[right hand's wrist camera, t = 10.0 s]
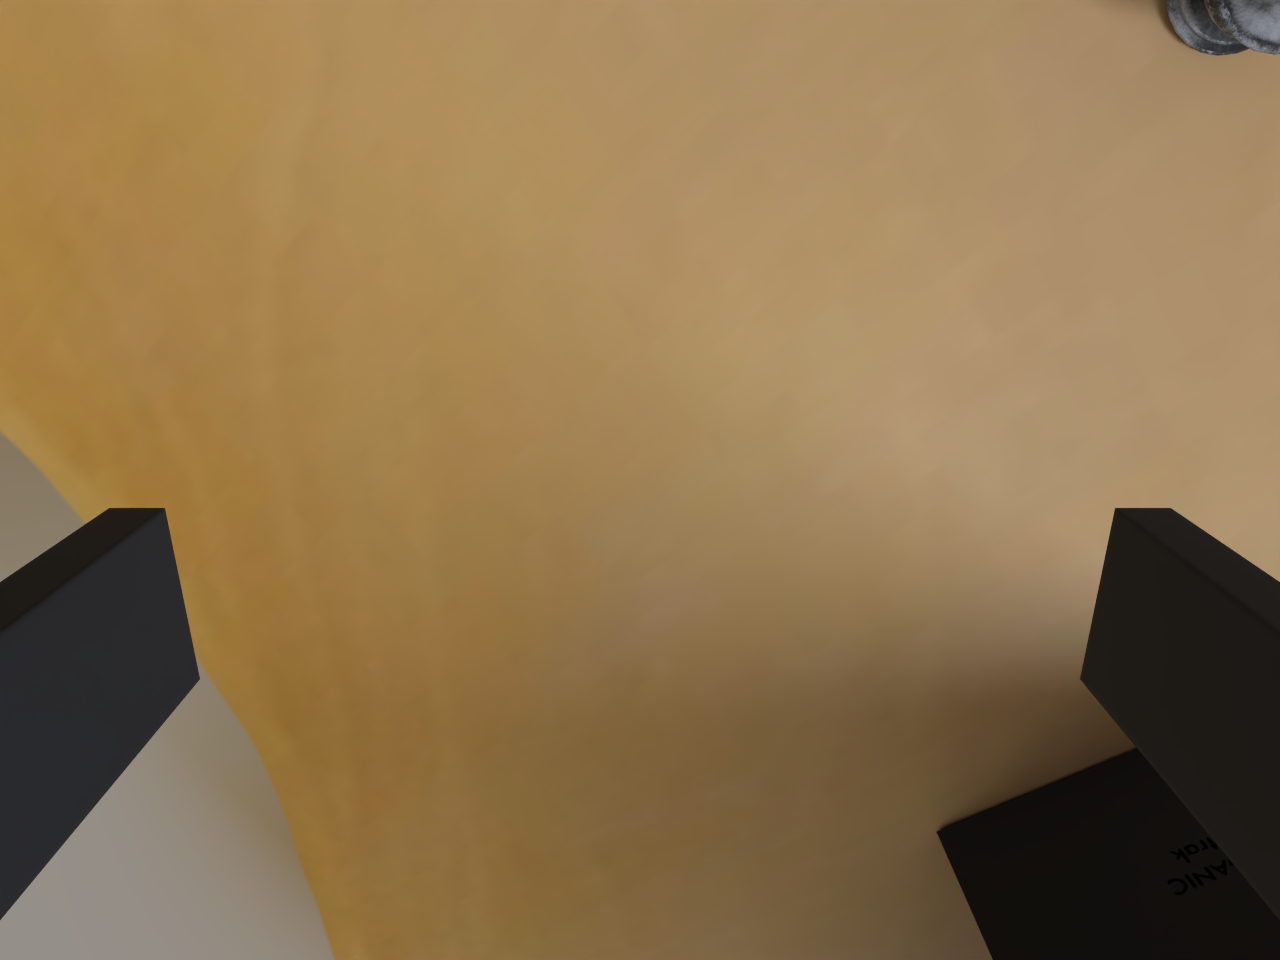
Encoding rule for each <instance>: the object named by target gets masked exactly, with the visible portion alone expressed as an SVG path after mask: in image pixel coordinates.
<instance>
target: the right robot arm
mask: <svg viewBox="0 0 1280 960" xmlns="http://www.w3.org/2000/svg"><path fill="white" fill-rule="evenodd" d="M199 680H200V677H199V672H198V667H197V663H196V658H195V653H194V648H193V643H192V638H191V633H190V628H189V624H188V619H187V614H186V609H185V604H184V599H183V594H182V590H181V585H180V580H179V575H178V570H177V565H176V560H175V555H174V551H173V546H172V541H171V536H170V531H169V526H168V521H167V517H166V512H165V508H109V509H107V510H106V511H104V512H103V513H101V514H100V515H98V516H97V517H96V518H94V519H93V520H91V521H90V522H88V523H87V524H85V525H84V526H82V527H81V528H79V529H78V530H76V531H75V532H73V533H72V534H71V535H69V536H68V537H66V538H65V539H63V540H62V541H60V542H59V543H57V544H56V545H54V546H53V547H51V548H50V549H48V550H47V551H45V552H44V553H43V554H41V555H40V556H38V557H37V558H35V559H34V560H32V561H31V562H29V563H28V564H26V565H25V566H23V567H22V568H20V569H19V570H18V571H16V572H15V573H13V574H12V575H10V576H9V577H7V578H6V579H4V580H3V581H1V582H0V920H1V918H2V917H3V916H4V915H5V914H6V912H7V911H8V910H9V909H10V908H11V907H12V905H13V904H14V903H15V902H16V900H17V899H18V898H19V897H20V896H21V894H22V893H23V892H24V891H25V890H26V888H27V887H28V886H29V885H30V884H31V882H32V881H33V880H34V879H35V878H36V876H37V875H38V874H39V873H40V872H41V870H42V869H43V868H44V867H45V865H46V864H47V863H48V862H49V861H50V859H51V858H52V857H53V856H54V855H55V853H56V852H57V851H58V850H59V849H60V847H61V846H62V845H63V844H64V843H65V841H66V840H67V839H68V838H69V836H70V835H71V834H72V833H73V832H74V830H75V829H76V828H77V827H78V826H79V824H80V823H81V822H82V821H83V820H84V818H85V817H86V816H87V815H88V814H89V812H90V811H91V810H92V809H93V808H94V806H95V805H96V804H97V803H98V801H99V800H100V799H101V798H102V797H103V795H104V794H105V793H106V792H107V791H108V789H109V788H110V787H111V786H112V785H113V783H114V782H115V781H116V780H117V779H118V777H119V776H120V775H121V774H122V772H123V771H124V770H125V769H126V768H127V766H128V765H129V764H130V763H131V762H132V760H133V759H134V758H135V757H136V756H137V754H138V753H139V752H140V751H141V750H142V748H143V747H144V746H145V745H146V744H147V742H148V741H149V740H150V739H151V737H152V736H153V735H154V734H155V733H156V731H157V730H158V729H159V728H160V727H161V725H162V724H163V723H164V722H165V721H166V719H167V718H168V717H169V716H170V714H171V713H172V712H173V711H174V710H175V709H176V707H177V706H178V705H179V704H180V702H181V701H182V700H183V699H184V698H185V696H186V695H187V694H188V693H189V692H190V690H191V689H192V688H193V687H194V686H195V684H196V683H197V682H198V681H199ZM1080 680H1081V681H1082V682H1083V683H1084V684H1085V686H1086V687H1087V688H1088V689H1089V690H1090V692H1091V693H1092V694H1093V695H1094V696H1095V698H1096V699H1097V700H1098V701H1099V703H1100V704H1101V705H1102V706H1103V707H1104V709H1105V710H1106V711H1107V712H1108V713H1109V715H1110V716H1111V717H1112V718H1113V719H1114V721H1115V722H1116V723H1117V724H1118V725H1119V727H1120V728H1121V729H1122V730H1123V731H1124V733H1125V734H1126V735H1127V736H1128V738H1129V739H1130V740H1131V741H1132V742H1133V744H1134V745H1135V746H1136V747H1137V748H1138V750H1139V751H1140V752H1141V753H1142V754H1143V756H1144V757H1145V758H1146V759H1147V760H1148V762H1149V763H1150V764H1151V765H1152V766H1153V768H1154V769H1155V770H1156V771H1157V773H1158V774H1159V775H1160V776H1161V777H1162V779H1163V780H1164V781H1165V782H1166V783H1167V785H1168V786H1169V787H1170V788H1171V789H1172V791H1173V792H1174V793H1175V794H1176V795H1177V797H1178V798H1179V799H1180V800H1181V801H1182V803H1183V804H1184V805H1185V806H1186V808H1187V809H1188V810H1189V811H1190V812H1191V814H1192V815H1193V816H1194V817H1195V818H1196V820H1197V821H1198V822H1199V823H1200V824H1201V826H1202V827H1203V828H1204V829H1205V830H1206V832H1207V833H1208V834H1209V835H1210V837H1211V838H1212V839H1213V840H1214V841H1215V843H1216V844H1217V845H1218V846H1219V847H1220V849H1221V850H1222V851H1223V852H1224V853H1225V855H1226V856H1227V857H1228V858H1229V859H1230V861H1231V862H1232V863H1233V864H1234V865H1235V867H1236V868H1237V869H1238V870H1239V872H1240V873H1241V874H1242V875H1243V876H1244V878H1245V879H1246V880H1247V881H1248V882H1249V884H1250V885H1251V886H1252V887H1253V888H1254V890H1255V891H1256V892H1257V893H1258V894H1259V896H1260V897H1261V898H1262V899H1263V900H1264V902H1265V903H1266V904H1267V905H1268V907H1269V908H1270V909H1271V910H1272V911H1273V913H1274V914H1275V915H1276V916H1277V917H1278V919H1279V920H1280V582H1279V581H1277V580H1276V579H1274V578H1273V577H1271V576H1270V575H1268V574H1267V573H1265V572H1264V571H1263V570H1261V569H1260V568H1258V567H1257V566H1255V565H1254V564H1252V563H1251V562H1249V561H1248V560H1246V559H1245V558H1243V557H1242V556H1240V555H1239V554H1237V553H1236V552H1235V551H1233V550H1232V549H1230V548H1229V547H1227V546H1226V545H1224V544H1223V543H1221V542H1220V541H1218V540H1217V539H1215V538H1214V537H1212V536H1211V535H1209V534H1208V533H1207V532H1205V531H1204V530H1202V529H1201V528H1199V527H1198V526H1196V525H1195V524H1193V523H1192V522H1190V521H1189V520H1187V519H1186V518H1184V517H1183V516H1182V515H1180V514H1179V513H1177V512H1176V511H1174V510H1173V509H1171V508H1115V512H1114V517H1113V521H1112V526H1111V531H1110V536H1109V541H1108V546H1107V551H1106V555H1105V560H1104V565H1103V570H1102V575H1101V580H1100V585H1099V590H1098V594H1097V599H1096V604H1095V609H1094V614H1093V619H1092V624H1091V628H1090V633H1089V638H1088V643H1087V648H1086V653H1085V658H1084V663H1083V667H1082V672H1081V677H1080Z"/></svg>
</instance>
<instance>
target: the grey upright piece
mask: <svg viewBox="0 0 1280 960" xmlns="http://www.w3.org/2000/svg"><path fill="white" fill-rule="evenodd" d="M1166 5H1167V11H1168V17H1169V19H1170V21H1171V23H1172V26H1173V28H1174V30H1175V32H1176V33H1177V35H1178V36H1179V37H1180V38H1181V39H1182V40H1183V41H1184V42H1185V43H1186V44H1187V45H1188V46H1190V47H1192V48H1194V49H1196V50H1198V51H1199V52H1201V53H1207V54H1212V55H1227V54H1235V53H1239V52H1242V51H1244V50H1247V49H1249V48H1250V49H1252V50H1254V51H1258V52H1263V53H1269V54H1274V55H1275V54H1280V0H1166Z"/></svg>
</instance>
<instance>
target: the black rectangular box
mask: <svg viewBox="0 0 1280 960" xmlns="http://www.w3.org/2000/svg"><path fill="white" fill-rule="evenodd" d="M937 834H938V836H939V839H940V841H941V843H942V845H943V848H944V850H945V852H946V854H947V857H948V859H949V861H950V863H951V866H952V868H953V870H954V873H955V875H956V877H957V879H958V882H959V884H960V886H961V888H962V891H963V893H964V895H965V897H966V900H967V902H968V904H969V906H970V909H971V911H972V913H973V916H974V918H975V920H976V922H977V925H978V927H979V929H980V931H981V934H982V936H983V938H984V940H985V943H986V945H987V947H988V949H989V952H990V954H991V956H992V958H993V960H1280V920H1279V919H1278V917H1277V916H1276V915H1275V914H1274V913H1273V911H1272V910H1271V909H1270V908H1269V907H1268V905H1267V904H1266V903H1265V902H1264V900H1263V899H1262V898H1261V897H1260V896H1259V894H1258V893H1257V892H1256V891H1255V890H1254V888H1253V887H1252V886H1251V885H1250V884H1249V882H1248V881H1247V880H1246V879H1245V878H1244V876H1243V875H1242V874H1241V873H1240V872H1239V870H1238V869H1237V868H1236V867H1235V865H1234V864H1233V863H1232V862H1231V861H1230V859H1229V858H1228V857H1227V856H1226V855H1225V853H1224V852H1223V851H1222V850H1221V849H1220V847H1219V846H1218V845H1217V844H1216V843H1215V841H1214V840H1213V839H1212V838H1211V837H1210V835H1209V834H1208V833H1207V832H1206V830H1205V829H1204V828H1203V827H1202V826H1201V824H1200V823H1199V822H1198V821H1197V820H1196V818H1195V817H1194V816H1193V815H1192V814H1191V812H1190V811H1189V810H1188V809H1187V808H1186V806H1185V805H1184V804H1183V803H1182V801H1181V800H1180V799H1179V798H1178V797H1177V795H1176V794H1175V793H1174V792H1173V791H1172V789H1171V788H1170V787H1169V786H1168V785H1167V783H1166V782H1165V781H1164V780H1163V779H1162V777H1161V776H1160V775H1159V774H1158V773H1157V771H1156V770H1155V769H1154V768H1153V766H1152V765H1151V764H1150V763H1149V762H1148V760H1147V759H1146V758H1145V757H1144V756H1143V754H1142V753H1141V752H1140V751H1139V750H1138V749H1137V750H1135V751H1132V752H1130V753H1127V754H1125V755H1123V756H1120V757H1118V758H1115V759H1113V760H1110V761H1108V762H1105V763H1103V764H1101V765H1098V766H1096V767H1093V768H1091V769H1088V770H1086V771H1083V772H1081V773H1079V774H1076V775H1074V776H1071V777H1069V778H1066V779H1064V780H1061V781H1059V782H1057V783H1054V784H1052V785H1049V786H1047V787H1044V788H1042V789H1039V790H1037V791H1035V792H1032V793H1030V794H1027V795H1025V796H1022V797H1020V798H1018V799H1015V800H1013V801H1010V802H1008V803H1005V804H1003V805H1000V806H998V807H996V808H993V809H991V810H988V811H986V812H983V813H981V814H978V815H976V816H974V817H971V818H969V819H966V820H964V821H961V822H959V823H956V824H954V825H952V826H949V827H947V828H944V829H942V830H939V831H937Z"/></svg>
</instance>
